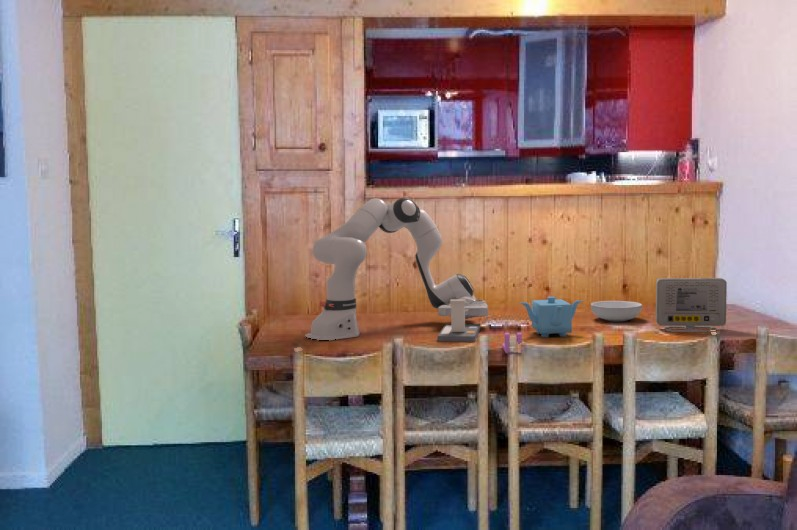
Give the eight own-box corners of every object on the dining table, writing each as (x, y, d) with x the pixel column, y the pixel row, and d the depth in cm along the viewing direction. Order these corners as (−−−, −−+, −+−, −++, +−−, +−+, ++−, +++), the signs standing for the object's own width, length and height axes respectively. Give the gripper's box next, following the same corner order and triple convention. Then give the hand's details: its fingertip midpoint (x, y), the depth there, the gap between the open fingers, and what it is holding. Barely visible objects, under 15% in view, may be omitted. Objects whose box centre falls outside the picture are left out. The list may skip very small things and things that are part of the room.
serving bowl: (652, 319, 346) (652, 303, 345) (621, 326, 333) (621, 309, 332) (611, 314, 362) (611, 298, 361) (580, 320, 349) (580, 304, 348)
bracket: (521, 353, 287) (521, 333, 286) (505, 353, 287) (505, 334, 286) (517, 345, 300) (517, 327, 299) (501, 346, 300) (501, 327, 299)
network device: (722, 327, 323) (723, 277, 321) (727, 331, 315) (728, 280, 313) (654, 327, 328) (655, 277, 326) (657, 331, 319) (658, 280, 317)
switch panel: (445, 328, 337) (445, 323, 336) (480, 328, 334) (480, 323, 334) (437, 341, 311) (437, 335, 311) (474, 341, 309) (474, 336, 308)
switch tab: (451, 330, 320) (450, 299, 318) (466, 330, 319) (465, 299, 317) (450, 332, 317) (450, 300, 315) (465, 332, 316) (464, 300, 314)
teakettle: (543, 328, 331) (542, 292, 330) (585, 333, 319) (585, 295, 318) (517, 336, 317) (517, 298, 316) (561, 341, 305) (560, 302, 303)
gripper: (439, 300, 343) (435, 305, 330) (489, 300, 339) (486, 305, 326) (440, 315, 344) (435, 321, 330) (489, 315, 340) (486, 321, 327)
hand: (461, 313), depth 328 cm, fingers closed
